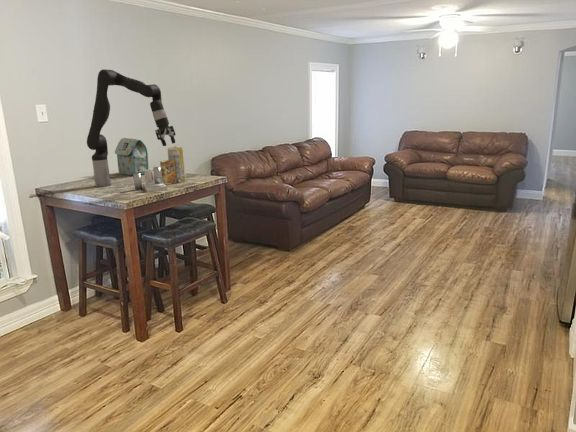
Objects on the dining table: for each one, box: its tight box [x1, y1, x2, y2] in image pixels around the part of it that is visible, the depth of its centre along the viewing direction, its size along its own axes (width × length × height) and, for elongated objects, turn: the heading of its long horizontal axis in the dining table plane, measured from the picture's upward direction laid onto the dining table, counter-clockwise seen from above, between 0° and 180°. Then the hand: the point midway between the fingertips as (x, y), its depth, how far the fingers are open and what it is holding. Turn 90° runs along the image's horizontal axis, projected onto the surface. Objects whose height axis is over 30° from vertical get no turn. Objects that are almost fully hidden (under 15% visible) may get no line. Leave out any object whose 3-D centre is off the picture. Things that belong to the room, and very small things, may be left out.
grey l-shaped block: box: [142, 168, 168, 193], centre depth 278 cm, size 12×15×11 cm
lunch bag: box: [114, 137, 150, 176], centre depth 335 cm, size 23×16×27 cm
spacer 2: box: [152, 166, 162, 184], centre depth 278 cm, size 4×4×10 cm
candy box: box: [159, 159, 178, 186], centre depth 293 cm, size 9×4×15 cm, turn 146°
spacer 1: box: [132, 173, 143, 191], centre depth 278 cm, size 4×4×10 cm
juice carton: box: [167, 145, 186, 183], centre depth 300 cm, size 9×8×24 cm
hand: (169, 144), depth 272 cm, fingers open, 8 cm apart
